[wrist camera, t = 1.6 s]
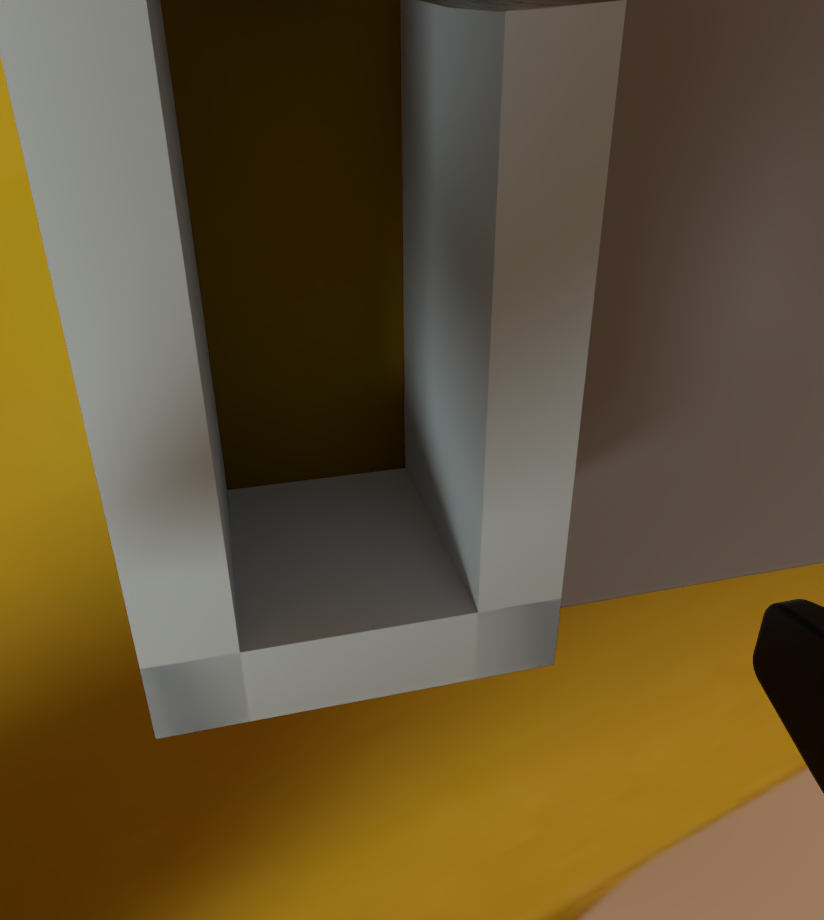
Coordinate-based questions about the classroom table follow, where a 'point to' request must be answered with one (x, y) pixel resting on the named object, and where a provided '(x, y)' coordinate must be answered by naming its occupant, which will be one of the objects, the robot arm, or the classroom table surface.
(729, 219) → the mat
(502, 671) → the c link
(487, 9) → the dark grey knobbed post
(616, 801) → the classroom table surface
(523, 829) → the classroom table surface
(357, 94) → the classroom table surface
